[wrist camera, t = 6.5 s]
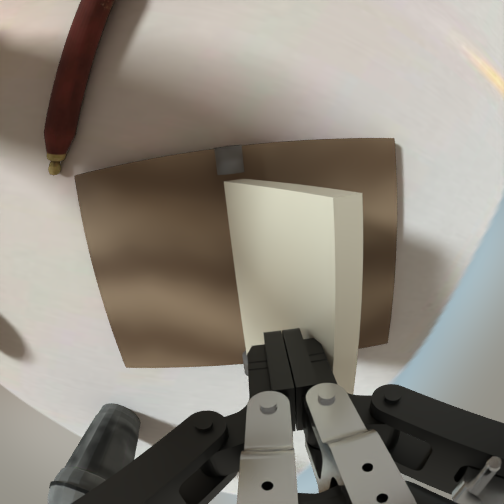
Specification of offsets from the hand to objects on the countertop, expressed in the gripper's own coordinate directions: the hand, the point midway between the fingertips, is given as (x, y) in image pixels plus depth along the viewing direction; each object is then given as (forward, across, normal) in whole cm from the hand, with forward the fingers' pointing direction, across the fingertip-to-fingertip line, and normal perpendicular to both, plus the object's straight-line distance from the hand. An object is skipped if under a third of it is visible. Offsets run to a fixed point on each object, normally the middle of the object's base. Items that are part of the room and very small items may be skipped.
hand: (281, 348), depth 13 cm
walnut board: (+10, +1, 0) cm, 10 cm away
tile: (+3, 0, 0) cm, 3 cm away
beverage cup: (+11, +16, +16) cm, 25 cm away
